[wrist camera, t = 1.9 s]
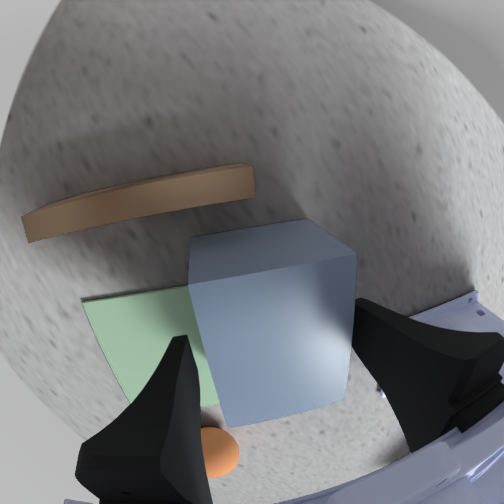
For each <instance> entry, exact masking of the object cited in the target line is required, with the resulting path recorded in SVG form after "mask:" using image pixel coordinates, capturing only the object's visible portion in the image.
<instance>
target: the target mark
mask: <svg viewBox="0 0 504 504" xmlns="http://www.w3.org/2000/svg"><path fill="white" fill-rule="evenodd" d="M82 304H83V306H84V309H85V311H86V314H87V316H88V319H89V321H90V324H91V326H92V328H93V331H94V333H95V335H96V337H97V340H98V342H99V344H100V346H101V348H102V350H103V353H104V355H105V357H106V359H107V361H108V363H109V365H110V367H111V369H112V371H113V373H114V375H115V377H116V378H117V380H118V382H119V384H120V386H121V388H122V390H123V391H124V393H125V395H126V397H127V398H128V400H129V402H130V404H131V403H132V402H133V401H134V399H135V398H136V397H137V396H138V394H139V393H140V392H141V391H142V389H143V388H144V386H145V385H146V384H147V382H148V380H149V379H150V377H151V376H152V374H153V373H154V371H155V369H156V368H157V366H158V364H159V362H160V361H161V359H162V357H163V355H164V353H165V351H166V349H167V347H168V345H169V343H170V341H171V339H172V338H173V337H174V336H181V335H188V339H189V342H190V346H191V349H192V352H193V356H194V359H195V362H196V365H197V368H198V374H199V382H200V406H207V405H214V404H220V402H219V399H218V396H217V392H216V389H215V386H214V382H213V379H212V375H211V372H210V369H209V365H208V362H207V358H206V354H205V351H204V347H203V343H202V340H201V336H200V332H199V328H198V324H197V320H196V316H195V312H194V308H193V304H192V300H191V296H190V292H189V288H188V285H185V286H179V287H173V288H167V289H161V290H154V291H148V292H142V293H136V294H129V295H123V296H116V297H110V298H103V299H97V300H90V301H83V303H82Z"/></svg>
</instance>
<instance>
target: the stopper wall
mask: <svg viewBox="0 0 504 504" xmlns="http://www.w3.org/2000/svg"><path fill="white" fill-rule="evenodd" d="M249 198H256V189H255V181H254V172H253V166H250V165H248V164H245V163H239V164H231V165H224V166H218V167H211V168H205V169H199V170H193V171H187V172H181V173H176V174H170V175H165V176H160V177H155V178H150V179H145V180H140V181H136V182H131V183H127V184H122V185H118V186H114V187H110V188H105V189H101V190H97V191H93V192H89V193H86V194H82V195H78V196H74V197H71V198H67V199H64V200H60V201H57V202H53V203H50V204H47V205H44V206H42V207H40V208H38V209H36V210H34V211H32V212H30V213H28V214H26V215H24V216H22V217H21V218H22V222H23V225H24V229H25V233H26V237H27V240H28V243H31V242H35V241H39V240H42V239H46V238H50V237H54V236H58V235H62V234H67V233H71V232H75V231H79V230H84V229H88V228H92V227H97V226H101V225H106V224H111V223H115V222H120V221H125V220H130V219H134V218H139V217H144V216H150V215H155V214H160V213H165V212H171V211H176V210H182V209H187V208H193V207H199V206H205V205H211V204H217V203H223V202H229V201H236V200H242V199H249Z"/></svg>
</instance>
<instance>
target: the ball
mask: <svg viewBox="0 0 504 504" xmlns="http://www.w3.org/2000/svg"><path fill="white" fill-rule="evenodd" d="M201 442H202V449H203V456H204V462H205V468H206V473H207V477H220V476H223V475H225V474H227V473H229V472H230V471H232V470H233V468H234V467H235V466H236V464H237V462H238V459H239V448H238V445H237V443H236V441H235V439H234V438H233V437H232V436H231V435H230V434H229V433H227V432H226V431H224V430H222V429H219V428H215V427H205V428H201Z"/></svg>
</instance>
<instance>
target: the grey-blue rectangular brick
mask: <svg viewBox="0 0 504 504" xmlns="http://www.w3.org/2000/svg"><path fill="white" fill-rule="evenodd" d="M356 273H357V253H356V252H354V251H353V250H352V249H350V248H349V247H347V246H346V245H345V244H343V243H342V242H341V241H339V240H338V239H336V238H335V237H334V236H332V235H331V234H329V233H328V232H327V231H325V230H324V229H322V228H321V227H319V226H318V225H317V224H315V223H314V222H312V221H311V220H309V219H303V220H296V221H289V222H283V223H277V224H270V225H264V226H258V227H251V228H245V229H239V230H233V231H227V232H221V233H215V234H209V235H203V236H198V237H192V238H191V240H190V255H189V272H188V288H189V292H190V296H191V300H192V304H193V308H194V312H195V316H196V320H197V324H198V328H199V332H200V336H201V340H202V343H203V347H204V351H205V354H206V358H207V362H208V365H209V369H210V372H211V375H212V379H213V382H214V386H215V389H216V392H217V396H218V399H219V402H220V405H221V408H222V412H223V415H224V418H225V421H226V424H227V427H228V428H233V427H238V426H244V425H249V424H254V423H259V422H264V421H269V420H273V419H278V418H282V417H286V416H290V415H294V414H298V413H302V412H305V411H309V410H313V409H316V408H320V407H323V406H326V405H329V404H333V403H336V402H339V401H342V400H344V399H345V393H346V386H347V378H348V371H349V363H350V354H351V345H352V334H353V323H354V310H355V294H356Z"/></svg>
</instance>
